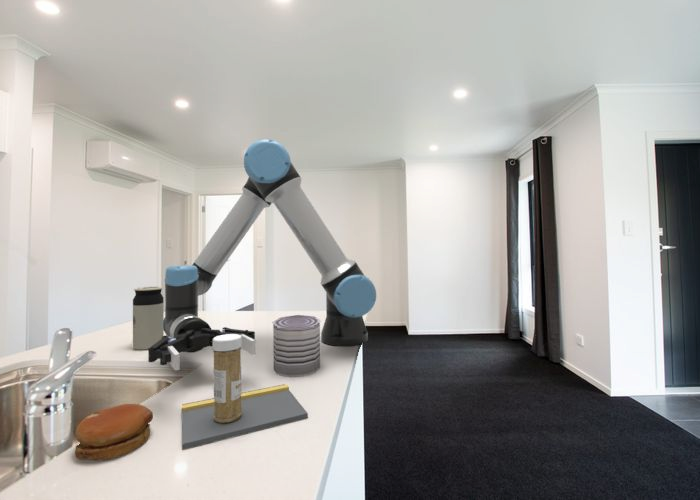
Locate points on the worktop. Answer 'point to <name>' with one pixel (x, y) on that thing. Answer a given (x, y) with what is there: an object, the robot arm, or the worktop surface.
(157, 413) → the worktop surface
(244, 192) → the robot arm
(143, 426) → the burger
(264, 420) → the mat
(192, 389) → the worktop surface
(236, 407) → the sprinkles bottle
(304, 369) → the can
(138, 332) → the travel mug
